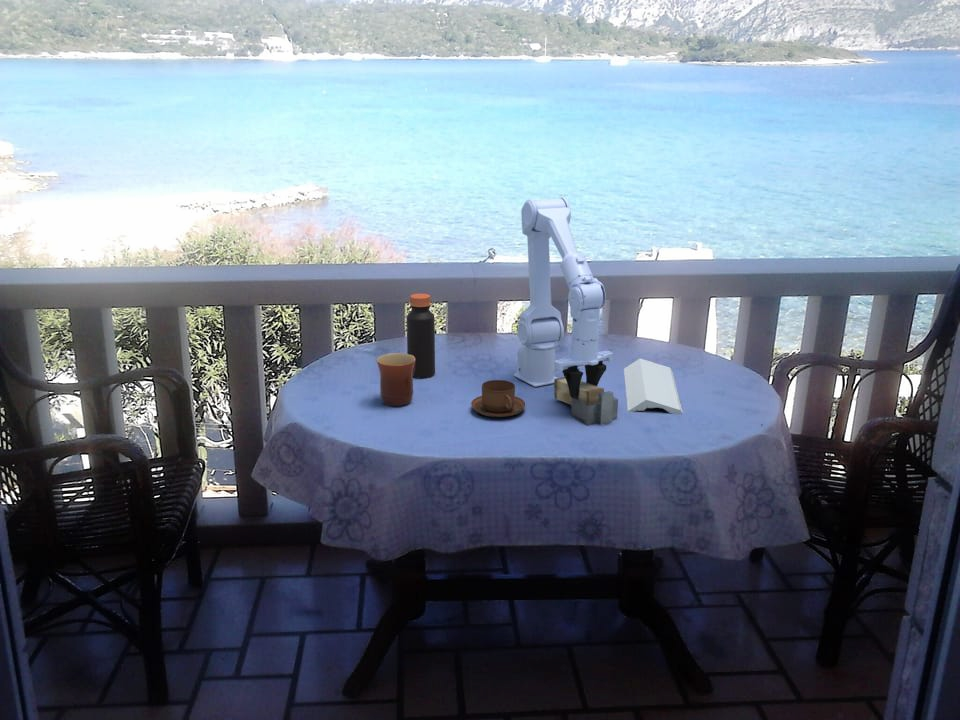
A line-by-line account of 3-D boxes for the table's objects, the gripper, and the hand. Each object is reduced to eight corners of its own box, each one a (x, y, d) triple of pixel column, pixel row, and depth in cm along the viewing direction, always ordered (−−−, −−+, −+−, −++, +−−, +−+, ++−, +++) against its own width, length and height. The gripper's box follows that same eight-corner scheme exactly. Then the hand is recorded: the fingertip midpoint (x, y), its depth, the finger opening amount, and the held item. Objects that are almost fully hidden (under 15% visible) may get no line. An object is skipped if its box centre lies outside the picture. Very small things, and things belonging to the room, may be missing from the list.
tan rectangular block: (554, 398, 202) (554, 378, 201) (568, 395, 204) (568, 375, 203) (589, 412, 192) (589, 391, 190) (604, 408, 194) (604, 388, 192)
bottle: (436, 369, 222) (435, 292, 216) (434, 379, 216) (433, 299, 210) (409, 369, 223) (407, 292, 216) (406, 378, 216) (404, 299, 210)
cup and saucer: (536, 411, 197) (537, 385, 195) (499, 426, 189) (499, 399, 187) (497, 397, 205) (497, 372, 203) (459, 411, 197) (459, 385, 195)
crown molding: (683, 416, 196) (684, 401, 195) (627, 413, 197) (628, 398, 196) (671, 373, 223) (672, 359, 222) (622, 371, 225) (623, 357, 224)
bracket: (571, 416, 194) (572, 386, 192) (600, 409, 198) (601, 380, 196) (591, 427, 188) (592, 397, 186) (620, 420, 192) (622, 390, 190)
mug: (403, 411, 196) (402, 367, 193) (370, 404, 200) (368, 361, 196) (430, 394, 206) (429, 352, 203) (397, 388, 210) (396, 347, 207)
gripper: (568, 347, 185) (566, 407, 190) (623, 337, 192) (619, 395, 197) (549, 338, 191) (547, 397, 195) (602, 329, 198) (599, 386, 202)
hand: (582, 396), depth 196 cm, fingers closed on tan rectangular block, 4 cm apart
